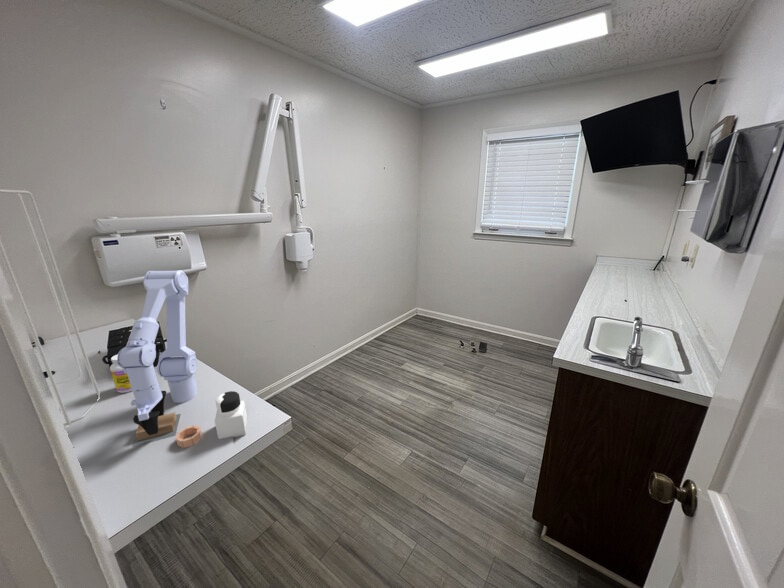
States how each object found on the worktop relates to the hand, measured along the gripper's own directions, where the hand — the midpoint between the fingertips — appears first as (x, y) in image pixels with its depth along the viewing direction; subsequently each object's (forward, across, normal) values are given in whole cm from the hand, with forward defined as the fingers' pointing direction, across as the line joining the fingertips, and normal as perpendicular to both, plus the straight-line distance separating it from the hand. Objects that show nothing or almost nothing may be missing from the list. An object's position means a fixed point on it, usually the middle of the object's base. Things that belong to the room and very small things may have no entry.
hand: (156, 424), depth 90 cm
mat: (+2, 0, 0) cm, 3 cm away
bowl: (+2, +8, +9) cm, 13 cm away
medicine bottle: (+3, +8, +20) cm, 22 cm away
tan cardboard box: (+2, 0, 0) cm, 2 cm away
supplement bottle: (+3, -30, -14) cm, 33 cm away
